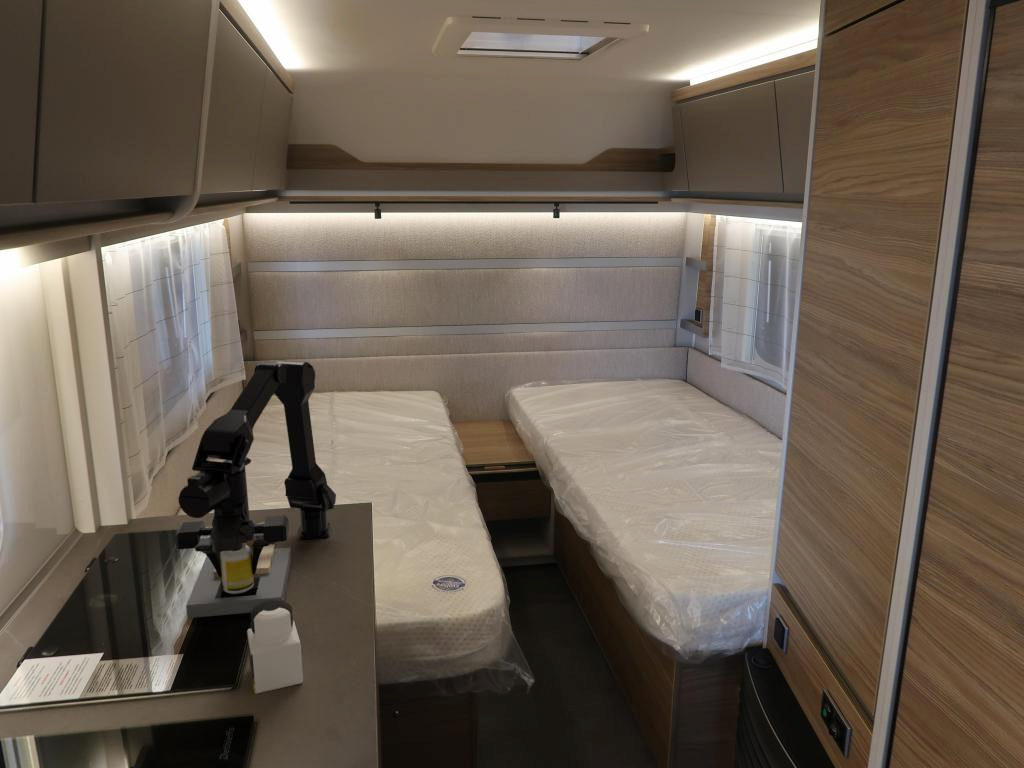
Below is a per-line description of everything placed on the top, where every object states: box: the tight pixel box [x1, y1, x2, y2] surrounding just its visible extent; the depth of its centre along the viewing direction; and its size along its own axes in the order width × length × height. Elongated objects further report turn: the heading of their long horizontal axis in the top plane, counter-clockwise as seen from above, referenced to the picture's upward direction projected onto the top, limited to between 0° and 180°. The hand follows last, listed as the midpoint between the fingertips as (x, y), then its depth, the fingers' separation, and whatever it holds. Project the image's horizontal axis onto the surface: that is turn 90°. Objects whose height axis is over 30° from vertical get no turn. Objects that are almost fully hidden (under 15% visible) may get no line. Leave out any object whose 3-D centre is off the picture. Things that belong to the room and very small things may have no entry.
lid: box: [213, 538, 276, 578], centre depth 150 cm, size 10×10×6 cm
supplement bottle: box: [220, 543, 254, 595], centre depth 141 cm, size 5×5×10 cm
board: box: [185, 547, 292, 619], centre depth 147 cm, size 20×16×2 cm
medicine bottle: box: [246, 600, 304, 694], centre depth 119 cm, size 7×7×12 cm
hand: (237, 574), depth 142 cm, fingers closed on supplement bottle, 5 cm apart
